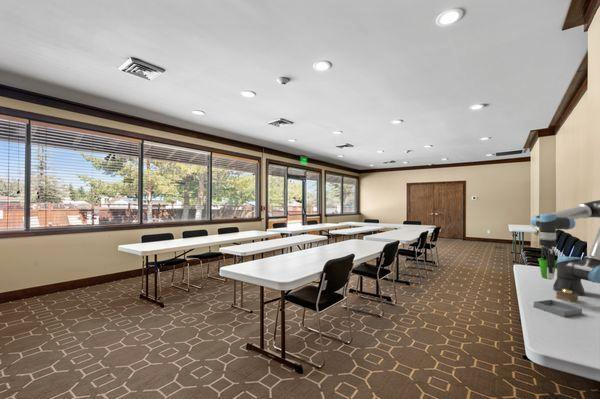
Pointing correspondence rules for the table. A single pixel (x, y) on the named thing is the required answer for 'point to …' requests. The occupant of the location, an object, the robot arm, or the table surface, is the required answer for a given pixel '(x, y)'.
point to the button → (567, 291)
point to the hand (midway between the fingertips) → (547, 276)
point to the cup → (543, 267)
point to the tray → (558, 308)
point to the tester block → (567, 296)
